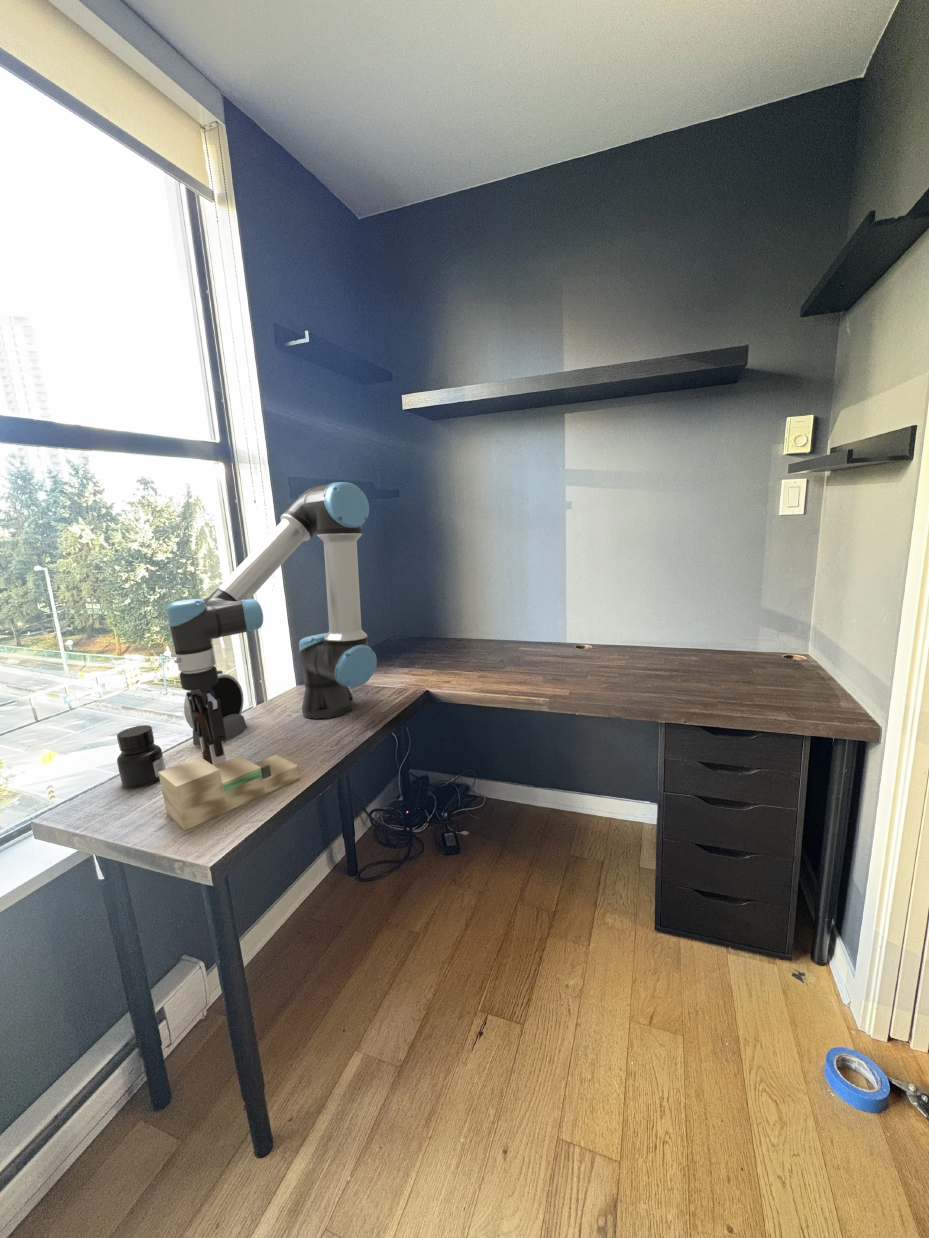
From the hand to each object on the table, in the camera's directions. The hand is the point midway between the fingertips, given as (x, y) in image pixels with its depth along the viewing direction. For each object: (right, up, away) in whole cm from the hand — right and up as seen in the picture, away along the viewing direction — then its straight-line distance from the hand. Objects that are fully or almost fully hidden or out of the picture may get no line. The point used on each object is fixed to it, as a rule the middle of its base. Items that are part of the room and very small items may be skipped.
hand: (215, 764), depth 123 cm
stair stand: (+10, -3, -11) cm, 15 cm away
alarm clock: (-9, +2, +22) cm, 24 cm away
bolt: (0, -2, 0) cm, 2 cm away
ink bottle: (-16, -3, -1) cm, 16 cm away
